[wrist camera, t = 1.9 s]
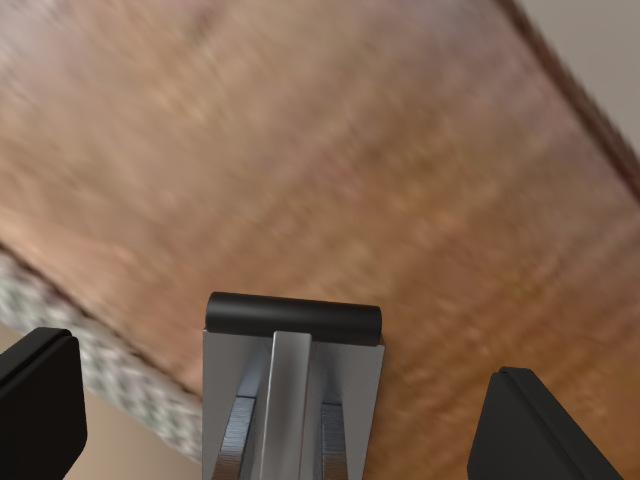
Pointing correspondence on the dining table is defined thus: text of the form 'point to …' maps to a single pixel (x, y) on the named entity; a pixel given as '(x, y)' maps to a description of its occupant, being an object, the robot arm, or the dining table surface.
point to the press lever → (290, 359)
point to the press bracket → (320, 417)
